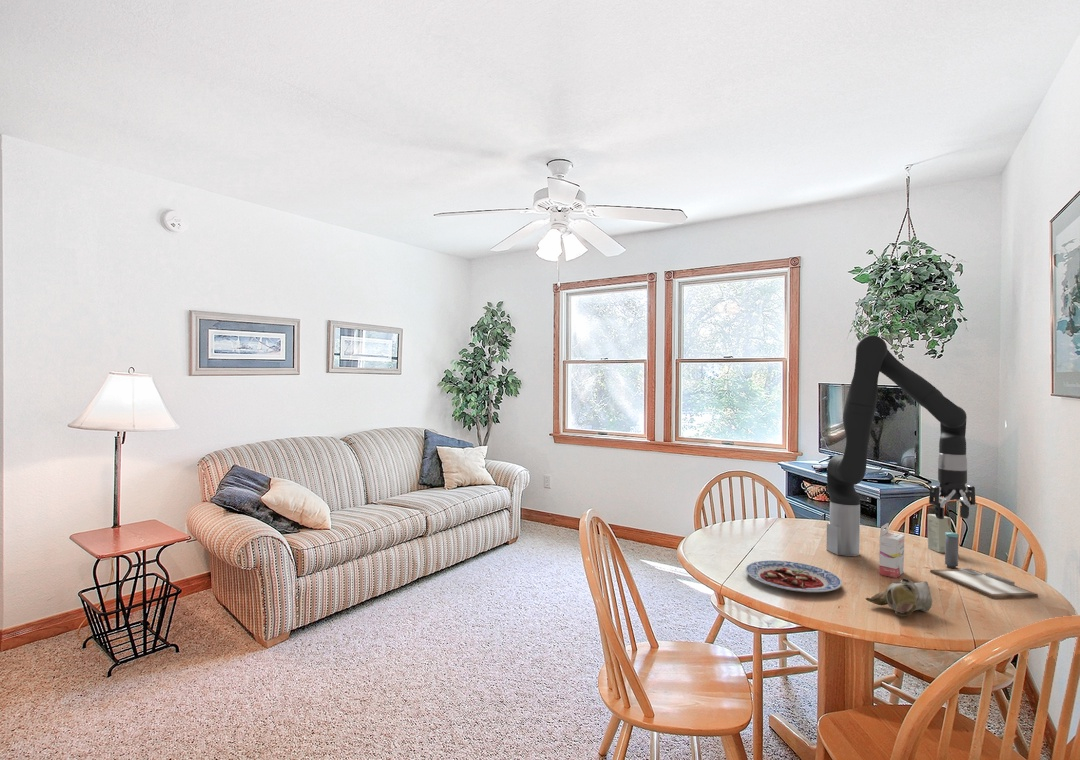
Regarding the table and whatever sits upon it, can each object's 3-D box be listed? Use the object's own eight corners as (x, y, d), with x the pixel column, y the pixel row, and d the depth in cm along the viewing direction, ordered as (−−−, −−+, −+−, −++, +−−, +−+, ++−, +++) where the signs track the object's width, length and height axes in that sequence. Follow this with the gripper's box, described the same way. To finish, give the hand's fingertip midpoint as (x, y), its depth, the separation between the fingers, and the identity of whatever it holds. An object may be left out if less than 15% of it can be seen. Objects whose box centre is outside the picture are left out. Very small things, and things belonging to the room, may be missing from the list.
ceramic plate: (807, 606, 147) (807, 594, 147) (727, 576, 169) (727, 566, 169) (860, 588, 161) (860, 577, 161) (780, 562, 182) (780, 553, 182)
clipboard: (992, 598, 153) (992, 592, 153) (930, 572, 174) (930, 566, 174) (1037, 597, 155) (1037, 590, 155) (970, 571, 176) (970, 565, 176)
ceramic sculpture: (945, 582, 141) (897, 590, 137) (947, 616, 141) (898, 625, 137) (908, 568, 151) (862, 575, 147) (910, 600, 151) (863, 608, 147)
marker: (951, 569, 178) (951, 535, 178) (941, 565, 181) (942, 532, 181) (961, 568, 178) (961, 534, 178) (951, 565, 181) (952, 531, 181)
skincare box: (951, 553, 194) (952, 518, 194) (939, 553, 194) (939, 517, 194) (938, 547, 201) (939, 513, 201) (926, 547, 201) (927, 513, 201)
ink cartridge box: (897, 578, 168) (898, 529, 168) (878, 574, 172) (879, 526, 172) (904, 572, 174) (905, 524, 174) (886, 568, 178) (887, 521, 178)
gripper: (942, 470, 175) (941, 521, 175) (982, 469, 177) (982, 520, 177) (922, 466, 183) (922, 516, 183) (962, 465, 184) (961, 515, 184)
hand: (952, 518), depth 180 cm, fingers open, 8 cm apart
